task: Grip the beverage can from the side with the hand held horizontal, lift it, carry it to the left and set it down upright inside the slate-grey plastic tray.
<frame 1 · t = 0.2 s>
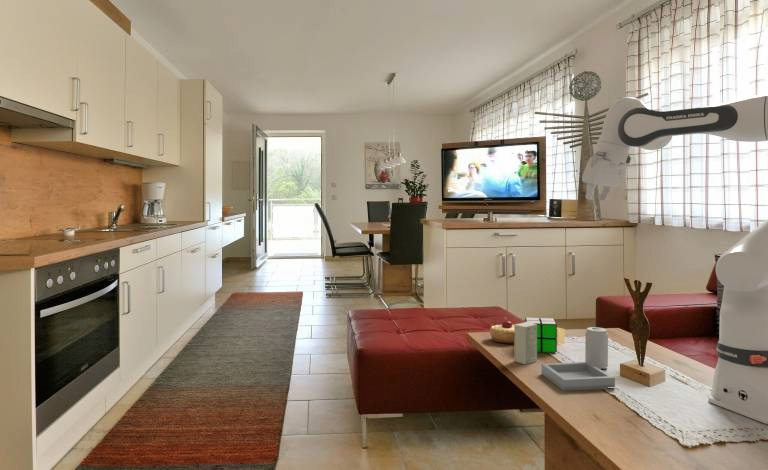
hand: (595, 199, 150), 51 cm above the table, tool tilted 15°, fingers open, 8 cm apart
beverage can: (596, 368, 155), on the table
pastry: (506, 341, 188), on the table
puzzle cube: (540, 349, 177), on the table
skincare box: (525, 362, 162), on the table
tray: (576, 380, 143), on the table
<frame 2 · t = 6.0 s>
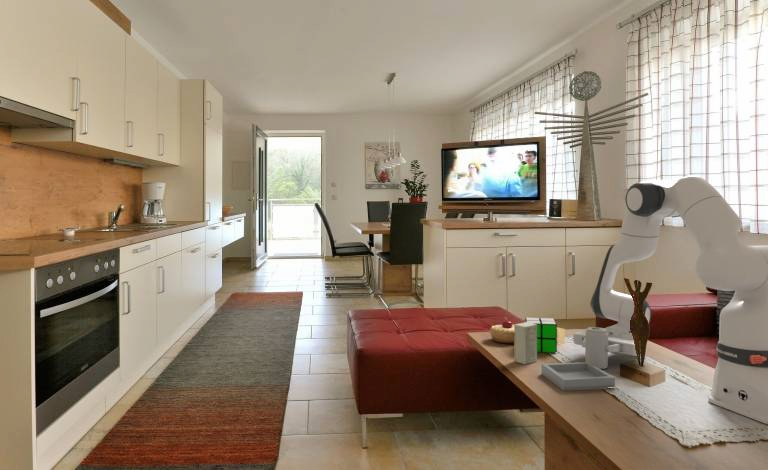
hand: (595, 346, 154), 7 cm above the table, tool horizontal, fingers closed on beverage can, 6 cm apart
beverage can: (596, 368, 155), on the table, touching gripper
everything else where it was.
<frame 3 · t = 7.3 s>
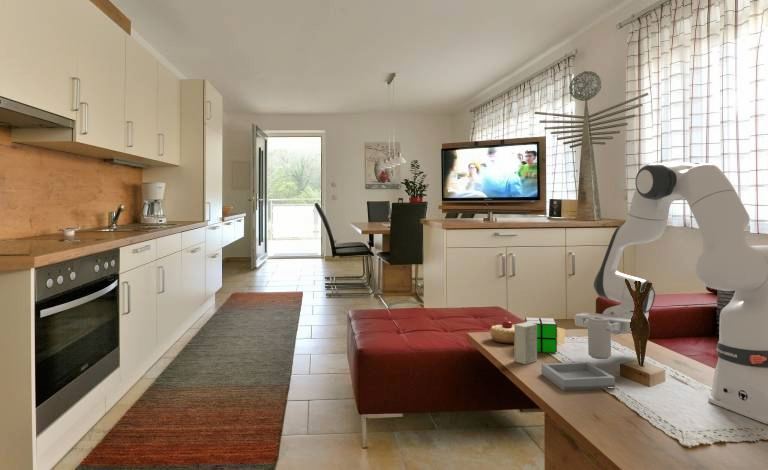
hand: (596, 326, 153), 13 cm above the table, tool horizontal, fingers closed on beverage can, 5 cm apart
beverage can: (599, 357, 154), point 3 cm above the table, touching gripper
everything else where it was.
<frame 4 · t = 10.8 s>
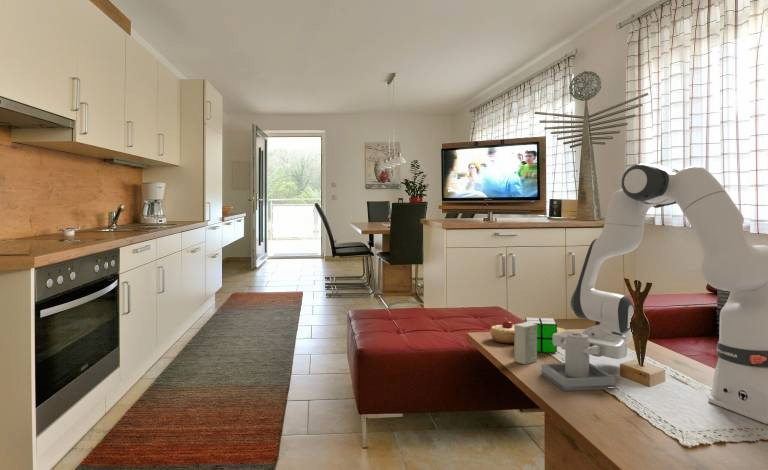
hand: (574, 348, 142), 9 cm above the table, tool horizontal, fingers closed on beverage can, 5 cm apart
beverage can: (576, 377, 144), point 1 cm above the table, touching gripper, tray
everything else where it was.
when the fingers open (9 cm above the table, at t = 10.8 s): beverage can stays where it is, resting on tray.
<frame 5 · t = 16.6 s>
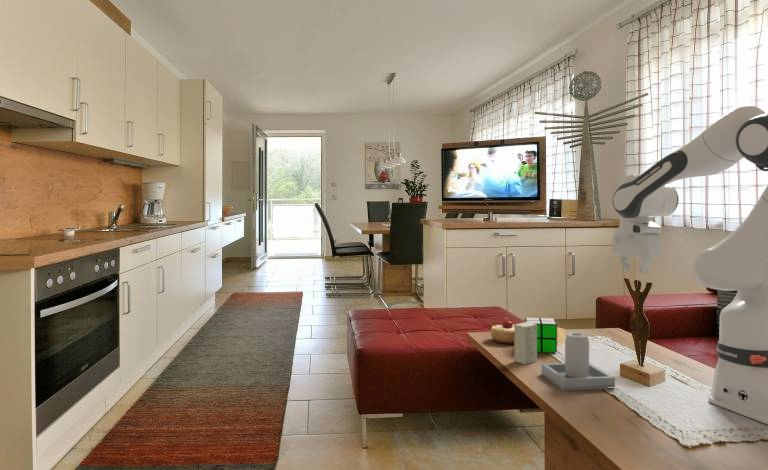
hand: (634, 271, 158), 29 cm above the table, tool pointing down, fingers open, 8 cm apart
beverage can: (576, 377, 144), point 1 cm above the table, touching tray
everything else where it was.
at the end: beverage can inside the target area on the tray (0.9 cm from its centre), point 0.8 cm above the tray's base; beverage can tilted 0°; the gripper is holding nothing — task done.
